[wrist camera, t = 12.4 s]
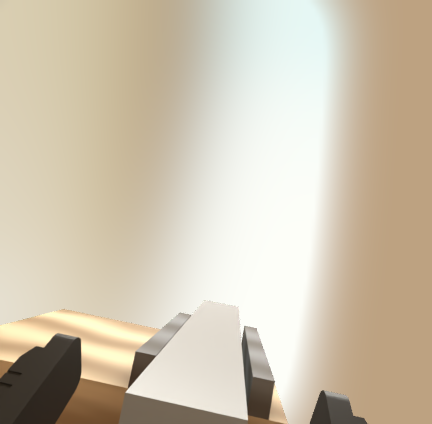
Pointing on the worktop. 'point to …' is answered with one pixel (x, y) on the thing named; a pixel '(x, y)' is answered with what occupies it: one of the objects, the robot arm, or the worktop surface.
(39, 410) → the robot arm
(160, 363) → the light gray bar
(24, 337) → the maple block
